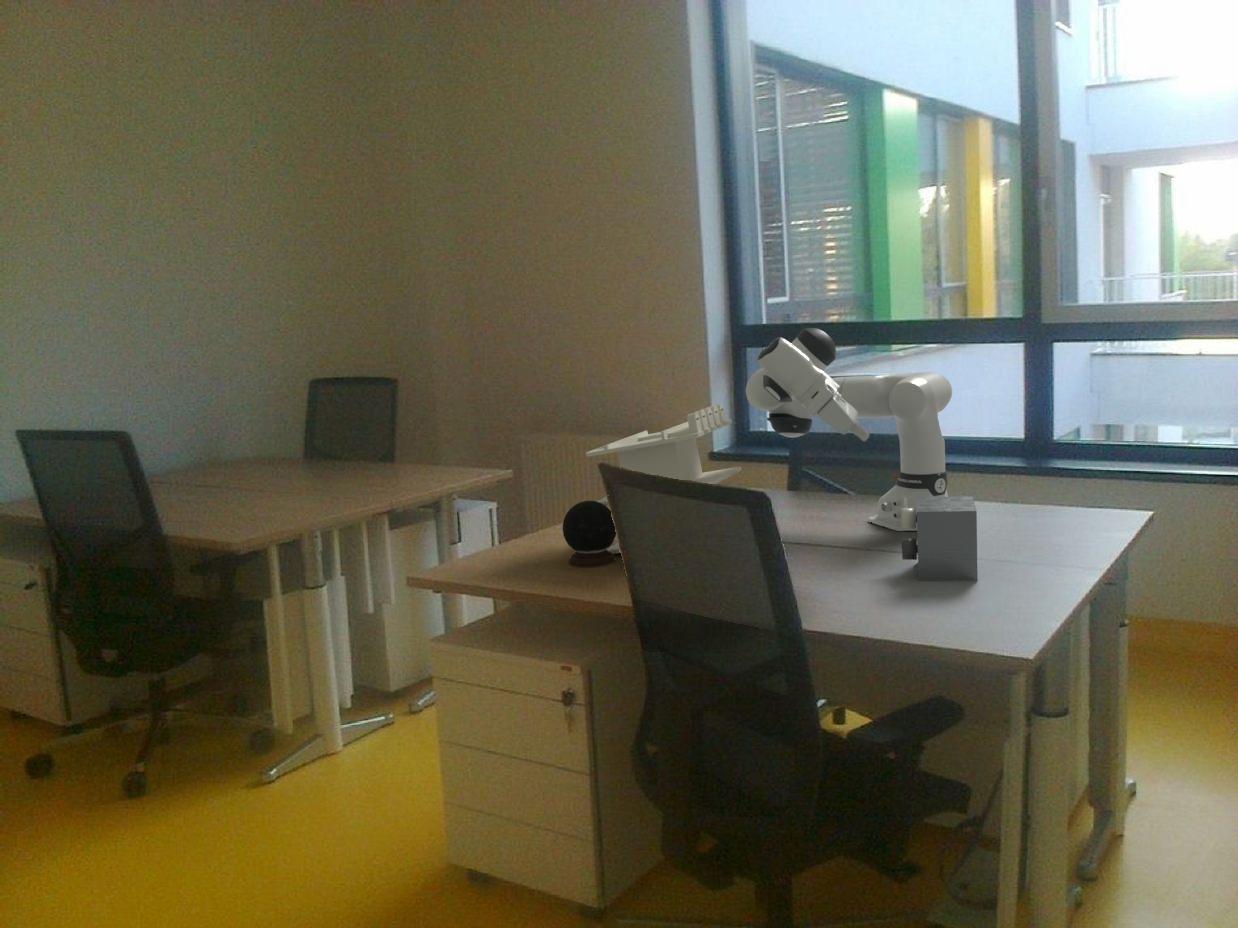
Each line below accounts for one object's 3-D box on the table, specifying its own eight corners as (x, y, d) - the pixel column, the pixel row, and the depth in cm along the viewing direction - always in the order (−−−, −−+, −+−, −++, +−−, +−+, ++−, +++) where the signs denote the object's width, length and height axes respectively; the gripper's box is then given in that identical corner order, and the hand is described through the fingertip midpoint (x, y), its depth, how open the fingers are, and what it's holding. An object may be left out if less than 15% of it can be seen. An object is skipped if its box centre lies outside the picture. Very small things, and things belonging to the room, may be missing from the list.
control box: (918, 580, 246) (916, 511, 244) (918, 562, 262) (916, 497, 259) (977, 581, 243) (976, 511, 241) (973, 562, 259) (972, 496, 256)
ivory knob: (902, 530, 255) (901, 510, 254) (902, 526, 259) (901, 506, 259) (949, 530, 253) (948, 509, 252) (948, 526, 257) (948, 505, 256)
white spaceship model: (722, 558, 275) (692, 414, 272) (606, 573, 288) (576, 435, 285) (755, 533, 299) (728, 401, 296) (647, 548, 312) (620, 421, 309)
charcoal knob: (902, 561, 248) (901, 541, 247) (902, 556, 253) (902, 536, 252) (950, 561, 246) (950, 540, 245) (950, 556, 250) (949, 535, 249)
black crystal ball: (568, 570, 274) (563, 508, 272) (562, 558, 287) (557, 498, 285) (623, 565, 276) (619, 503, 274) (614, 553, 289) (610, 494, 287)
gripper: (814, 401, 266) (859, 441, 265) (807, 411, 247) (855, 455, 246) (833, 380, 265) (878, 421, 264) (827, 389, 245) (876, 434, 244)
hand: (867, 438), depth 255 cm, fingers closed
